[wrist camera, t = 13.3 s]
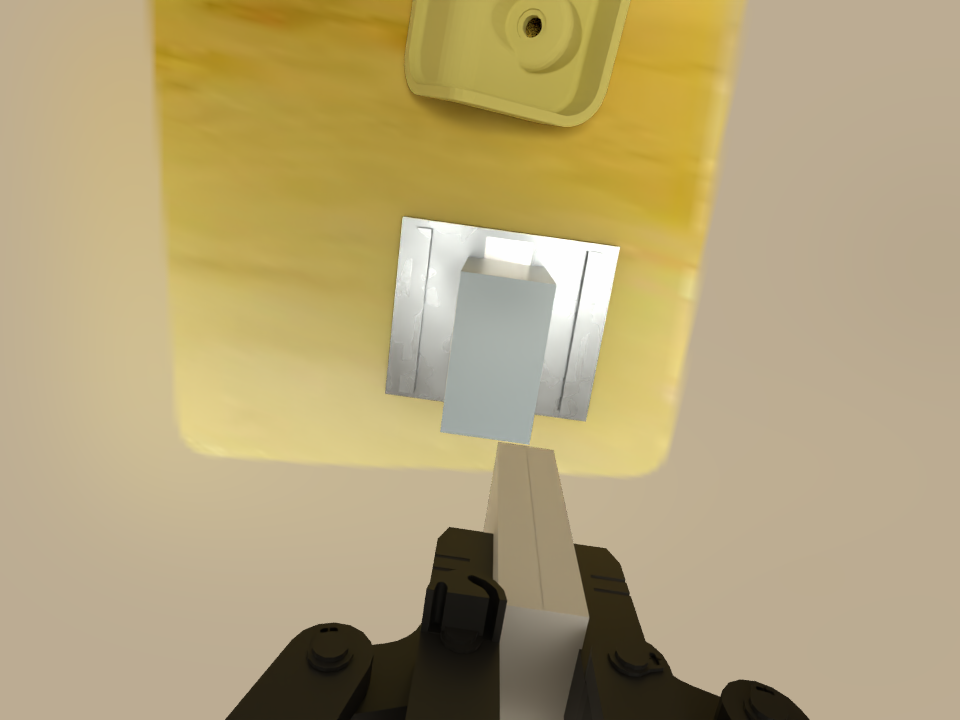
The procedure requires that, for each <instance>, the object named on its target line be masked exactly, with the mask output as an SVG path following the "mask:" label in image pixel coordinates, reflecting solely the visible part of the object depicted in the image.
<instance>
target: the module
mask: <svg viewBox="0 0 960 720" xmlns="http://www.w3.org/2000/svg"><path fill="white" fill-rule="evenodd" d="M556 286H557V284H556V283H555V281H554V280H553V278H552V277H551V275H550V274H549V272H548V271H547V269H546V268H545V267H539V266H532V265H525V264H518V263H511V262H504V261H497V260H490V259H483V258H476V257H468V258H467V260H466V262H465V264H464V266H463V268H462V270H461V275H460V282H459V290H458V297H457V303H456V311H455V319H454V327H453V334H452V342H451V350H450V358H449V366H448V373H447V381H446V389H445V397H444V407H443V415H442V423H441V431H440V432H443V433H450V434H458V435H465V436H472V437H479V438H486V439H493V440H501V441H508V442H515V443H522V444H529V443H530V438H531V432H532V426H533V420H534V414H535V408H536V403H537V397H538V391H539V385H540V379H541V374H542V368H543V362H544V356H545V350H546V344H547V339H548V333H549V327H550V321H551V315H552V310H553V304H554V298H555V292H556Z"/></svg>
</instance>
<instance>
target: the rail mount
mask: <svg viewBox="0 0 960 720" xmlns="http://www.w3.org/2000/svg"><path fill="white" fill-rule="evenodd" d="M619 249H620V247H618V246H612V245H605V244H598V243H591V242H583V241H576V240H569V239H562V238H555V237H548V236H541V235H534V234H527V233H520V232H512V231H505V230H498V229H491V228H484V227H477V226H470V225H463V224H456V223H448V222H441V221H434V220H427V219H420V218H413V217H406V216H404V217H403V219H402V229H401V239H400V249H399V260H398V270H397V280H396V290H395V300H394V310H393V320H392V331H391V341H390V351H389V361H388V371H387V381H386V391H385V394H392V395H399V396H406V397H413V398H421V399H428V400H435V401H442V402H444V397H445V389H446V381H447V373H448V366H449V358H450V350H451V342H452V334H453V327H454V319H455V311H456V303H457V297H458V290H459V282H460V275H461V270H462V268H463V266H464V264H465V262H466V260H467V258H468V257H476V258H483V259H490V260H497V261H504V262H511V263H518V264H525V265H532V266H539V267H545V268H546V269H547V271H548V272H549V274H550V275H551V277H552V278H553V280H554V281H555V283H556V284H557V286H556V292H555V298H554V304H553V310H552V315H551V321H550V327H549V333H548V339H547V344H546V350H545V356H544V362H543V368H542V374H541V379H540V385H539V391H538V397H537V403H536V408H535V414H536V415H543V416H550V417H558V418H565V419H572V420H579V421H586V417H587V412H588V407H589V402H590V397H591V392H592V387H593V382H594V376H595V371H596V366H597V361H598V356H599V351H600V346H601V341H602V336H603V331H604V325H605V320H606V315H607V310H608V305H609V300H610V295H611V290H612V285H613V279H614V274H615V269H616V264H617V259H618V254H619Z"/></svg>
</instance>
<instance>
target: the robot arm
mask: <svg viewBox="0 0 960 720" xmlns="http://www.w3.org/2000/svg"><path fill="white" fill-rule="evenodd" d="M629 594H630V593H629V590H628V586H627V584H626V583H625V577H624V574H623V571H622V568H621V565H620V563H619V562H618V561H617V560H616V559H615V558H614V557H613V555H612V554H611V553H610V552H609V551H608V550H607V549H606V548H600V547H593V546H586V545H578V544H574V543H573V539H572V534H571V530H570V525H569V520H568V516H567V511H566V506H565V502H564V497H563V492H562V488H561V483H560V478H559V474H558V469H557V464H556V460H555V455H554V450H549V449H543V448H536V447H529V446H522V445H516V444H509V443H502V442H498V447H497V453H496V459H495V465H494V471H493V477H492V484H491V489H490V495H489V501H488V507H487V513H486V519H485V525H484V531H483V532H479V531H472V530H465V529H459V528H451V527H449V528H448V529H447V530H446V531H445V532H444V533H443V534H442V535H441V536H440V537H439V538H438V541H437V547H436V552H435V558H434V564H433V569H432V575H431V580H430V584H429V585H428V587H427V590H426V597H425V604H424V611H423V618H422V623H421V625H420V626H419V627H418V628H417V630H416V631H414V632H413V633H412V634H411V635H409V636H408V637H405V638H403V639H401V640H398V641H395V642H390V643H385V644H376V645H372V644H371V641H370V640H369V639H368V638H367V636H366V635H365V634H364V633H363V632H362V631H360V630H358V629H356V628H354V627H352V626H351V625H345V624H340V623H326V624H318V625H315V626H313V627H310V628H308V629H305V630H303V631H302V632H301V633H300V634H298V635H297V636H296V637H295V638H294V639H292V640H291V642H290V643H289V644H288V645H287V646H286V648H285V649H284V650H283V651H282V652H281V653H280V655H279V656H278V657H277V658H276V660H275V661H274V662H273V663H272V664H271V666H270V667H269V668H268V669H267V670H266V671H265V673H264V674H263V675H262V676H261V677H260V679H259V680H258V681H257V682H256V683H255V685H254V686H253V687H252V688H251V689H250V691H249V692H248V693H247V694H246V695H245V696H244V698H243V699H242V700H241V701H240V702H239V704H238V705H237V706H236V707H235V708H234V710H233V711H232V712H231V713H230V714H229V716H228V717H227V718H226V719H225V720H809V718H808V717H807V716H806V715H805V714H804V713H803V711H802V710H801V709H800V708H798V707H797V706H796V705H795V704H794V703H793V702H792V701H791V700H790V699H789V698H788V697H786V696H784V695H783V694H781V693H780V692H778V691H777V690H775V689H774V688H772V687H769V686H767V685H764V684H761V683H759V682H756V681H749V680H737V681H733V682H730V683H728V685H727V686H726V687H725V688H724V689H723V690H722V693H721V697H719V696H717V695H714V694H711V693H709V692H706V691H704V690H701V689H699V688H696V687H693V686H691V685H689V684H687V683H685V682H683V681H681V680H679V679H677V678H676V677H674V676H673V674H672V672H671V669H670V666H669V665H668V663H667V661H666V660H665V658H664V657H663V655H662V654H661V653H660V652H659V651H658V650H657V649H655V648H654V647H653V646H652V645H651V644H649V643H647V642H646V641H645V638H644V635H643V632H642V629H641V626H640V623H639V620H638V617H637V614H636V611H635V608H634V605H633V602H632V599H631V596H629Z"/></svg>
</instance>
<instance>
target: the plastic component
mask: <svg viewBox="0 0 960 720" xmlns="http://www.w3.org/2000/svg"><path fill="white" fill-rule="evenodd" d="M630 1H631V0H413V3H412V9H411V16H410V23H409V29H408V36H407V43H406V49H405V75H406V80H407V84H408V86H409V88H410V90H411V91H412V92H413V93H414V94H415V95H420V96H424V97H429V98H436V99H441V100H447V101H451V102H456V103H460V104H464V105H469V106H472V107H476V108H480V109H484V110H488V111H492V112H496V113H500V114H504V115H508V116H512V117H516V118H520V119H524V120H528V121H532V122H536V123H540V124H547V125H554V126H561V127H573V126H576V125H579V124H582V123H584V122H585V121H587V120H588V119H590V118H591V117H592V116H593V115H594V114H595V113H596V112H597V110H598V109H599V107H600V106H601V104H602V102H603V100H604V98H605V95H606V93H607V89H608V85H609V81H610V77H611V73H612V70H613V66H614V62H615V58H616V54H617V50H618V47H619V43H620V39H621V35H622V31H623V27H624V24H625V20H626V16H627V12H628V8H629V4H630ZM533 18H540V19H541V21H542V29H541V31H540V33H539V34H538V35H537V36H536V37H533V38H530V37H528V36H527V35H526V26H527V24H528V22H529V21H530V20H531V19H533Z"/></svg>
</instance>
